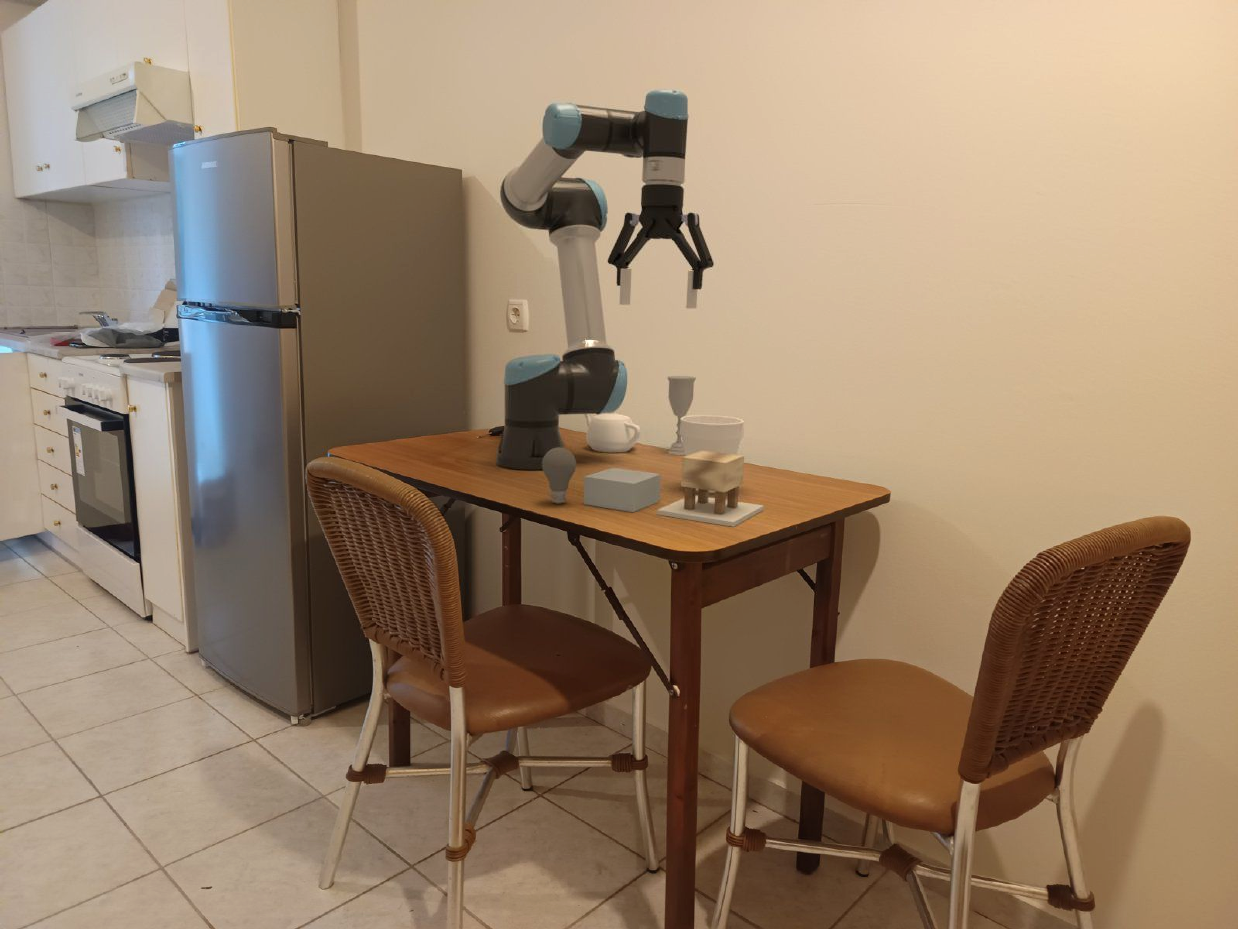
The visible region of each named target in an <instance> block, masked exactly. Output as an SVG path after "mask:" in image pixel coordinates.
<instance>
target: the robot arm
mask: <svg viewBox="0 0 1238 929" xmlns="http://www.w3.org/2000/svg"><path fill="white" fill-rule="evenodd" d="M688 100H689V98H688V97H687V95H686V93H684V92H682V91H679V90H675V89H654V90H651V91H649V92H647V93H646V96H645V100H644V105H643V110H642V111H632V110H626V109H625V110H624V109H623V110H622V109H615V108H607V107H599V106H598V107H597V106H590V105H582V104H575V103H572V102H565V103H562V102H561V103H560V102H554V103H553V102H552V103H550V104H549V105H548V106H547V107H546V109H545V110H544V111H545V112H544V115H543V118H542V128H541V129H542V137H541V139H540V140H539V141H538V142H537V144H536V145H535V146H534V148H533V149H532V150H531V152H530V153H529V154H528V155H527V156H526V157H525V159H524V161H522V163H521V164H520V165H519V166H515V167H514V168H512V169H511V170H510V171H508V173H507V174H506V175H505V177H504V178H503V180H502V182H501V186H500V191H499V192H500V193H499V195H500V196H499V197H500V202H501V205H502V208H503V209H504V211H505V213H506V214H507V215H508V217H509V218H510V219H512V221H514V222H515V223H517V224H518V225H520V226H522V227H525V228H528V229H531V230H541V231H543V230H544V231H548V236H549V237H548V238H549V242H550V243H551V244H553V245H554V246H555V247H556V248H557V249H556V250H557V260H558V268H559V277H560V285H561V286H560V288H561V294H562V295H561V296H562V297H561V298H562V305H563V306H562V307H563V312H564V324H565V332H566V344H567V349H566V350H565V351H564V353H563V354H562V356H561V357H562V360H561V357H560V355H558V354H557V353H556V354H555V353H553V354H552V353H545V354H535V355H527V356H525V355H523V356H520V357H516V358H515V357H514V358H513V359H510V360H508V362H507V363H506V365H505V369H504V379H503V385H504V428H503V429H504V430H503V431H502V435H501V438H500V442H499V443H498V444H499V445H498V449H497V450H496V454H495V456H496V465H497V466H500V467H503V468H508V469H513V470H529V471H531V470H543V468H542V460H543V458H544V456H545V455H546V453H547V452H548V451H550V450H551V449H553V448H558V447H560V448H565V445H564V441H563V439H562V436H561V431H560V425H559V424H560V423H559V422H560V420H559V419H560V416H562V415H563V416H564V415H565V416H566V415H584V414H589V415H594V414H595V415H596V416H597V415H602V414H607V413H611V412H614V411H615V412H616V411H617V410H618V409H620V407H621V405H622V404H623V401H624V399H625V397H626V393H627V389H628V388H627V387H628V371H627V367H626V365H625V363H624V361H621V360H620V359H616V357H615V350H614V348H612V347H611V346H609V345H608V344H607V337H606V327H605V321H604V311H603V303H602V302H603V301H602V294H601V285H600V277H599V275H600V274H599V268H598V259H597V252H596V242H598V240H599V239H600V237H601V235H602V233H601V232H603V231H604V229H605V228H606V225H607V221H608V212H609V211H608V210H609V209H608V201H607V198H606V197H607V196H606V194H605V191H604V189H603V188H602V186H601V185H600V184H599V183H598V182H596V181H595V180H592V179H585V178H582V177H575V178H573V177H563V176H564V175H565V174H566V173H567V171H569V169H570V168H571V167H572V166H573V165H574V164H575V162H576V161H577V160H578V159H579V158H580V157H581V156H582V155H583V154H584V153H585V152H588V151H589V152H596V153H607V154H617V155H618V154H619V155H621V156H623V157H626V158H630V159H632V158H634V159H635V158H636V159H639V158H640V159H641V158H642V174H641V176H642V178H641V181H642V182H643V183H645V184H644V185H642V187H641V193H640V195H641V196H640V197H641V198H640V201H641V202H640V207H641V211H640V214H636V213H635V212H634V213H633V212H626V213H625V214H624V218H623V219H624V220H623V225H622V228H621V230H620V232H619V234H618V236H617V238H616V240H615V243H614V244H613V247H612V250H611V251H610V254H609V256H608V258H607V263H608V264H609V265H612V266H614V267H615V268H616V287H619V305H623V306H624V305H625V306H626V305H628V306H629V305H631V288H632V268H630V267H629V265H630V264H631V263H632V262H633V260H634V259H635V258H636V257H637V256H638V254H639V253H640V251H641V250H642V249H643V248H644V247H645V245H646V244H647V243H648V242H649V241H650V240H651V239H652V240H672V241H673V242H674V243H675V246H676V247H677V248H678V250H679V251H680V253H681V254H682V256H683V257H684V258H685V260H686V261H687V264H689V266H690V267H691V270H688V271H687V283H686V285H687V288H686V289H687V290H686V291H687V292H686V305H685V306H686V307H685V308H686V309H697V306H698V304H697V303H698V290H702V287H703V276H704V271H705V270H706V269H710V268H713V267H714V265H715V264H714V260H713V258H712V255H711V252H710V249H709V247H708V245H707V242H706V239H705V237H704V234H703V232H702V229H701V226H700V215H699V214H698V213H697V212H696V213H695V212H688V213H687V214H683V207H684V197H685V195H684V194H685V188H684V187H683V186H681V185H683V184H684V183H685V181H686V180H685V177H686V174H685V173H686V154H687V138H688V137H687V136H688V135H687V134H688V120H689V116H690V115H689V114H688V110H689V109H688V108H689V107H688V106H689V103H688ZM639 224H640V225H641V229H640V230H639V231H638V232H637V233H636V236H635V237H634V240H633V241H632V242H631V244H629V242H630V240H631V238H632V236H633V234H634V232H635V230H636V226H638V225H639ZM683 224H685V226H686V227H687V228H688V232H689V235H690V237H691V240H692V242H693V245H694V247H695V250H696V252H697V254H696V252H695V251H694V249H693V247H692V246H691V245H690V243H689V242H688V240H687V239H686V237H685V235H684V233H683V232H682V230H681V229H680V228H681V227H682V225H683ZM628 245H629V246H628Z"/></svg>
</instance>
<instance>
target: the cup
mask: <svg viewBox="0 0 1238 929" xmlns="http://www.w3.org/2000/svg"><path fill="white" fill-rule="evenodd" d="M680 421H681V424H680V433H679V434H680V435H681V441H682V443H683V447H684V452H685V455H684V457H685V456H688V455H691V454H694V453H697V452H700V451H708V452H716V453H724V454H733V455H738V454H737V453H738V451H739V449H740V448H739V446H740V444H741V440H742V438H744V423H745V422H744V420H743V419H741V418H738V417H733V416H725V415H717V414H716V415H714V414H713V415H711V414H710V415H709V414H694V415H685V416H683V417H681V419H680ZM696 492H698V489H697V488H696ZM709 494H715V491H711V490H709Z"/></svg>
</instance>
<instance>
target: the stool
mask: <svg viewBox="0 0 1238 929" xmlns="http://www.w3.org/2000/svg"><path fill="white" fill-rule="evenodd" d="M681 459H682V460H681V480H680V481H681V482H680V485H681V487H684V497H683V498H684V509H688V510H693V509H695V495H696V494H697V495H696V496H698V503H703V504H705V503H708V497H709V494H710V493H709V490H711V491H715V493H714V498H715V506H714V514H720V515H722V514H724V513H725V505H726V500H727V507H730V508H736V507H738V502H739V487H740V486H741V485H743V482H744V468H745V467H744V465H745V455H741V454H740V455H739V454H737V455H733V454H724V453H716V452H708V451H700V452H697V453H694V454H691V455H688V456H685V455H684V456H682V457H681ZM696 488H697V489H698V491H696Z"/></svg>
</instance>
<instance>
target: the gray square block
mask: <svg viewBox="0 0 1238 929" xmlns="http://www.w3.org/2000/svg"><path fill="white" fill-rule="evenodd" d="M583 478H584V480H583V481H584V482H583V505H586V506H591V507H592V506H593V507H599V508H605V509H611V510H616V511H623V512H628V513H629V512H630V513H635V512H637V511H640V510H643V509H645V508H647V507H649V506H651V505H654V504H657V503H660V502H661V483H662V482H661V481H662V480H661V478H662V475H661V473H654V472H647V471H641V470H640V471H638V470H631V469H625V468H617V467H610V468H608V469H603V470H601V471H597V472H595V473H592V474H589V475H585V476H583Z"/></svg>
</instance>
